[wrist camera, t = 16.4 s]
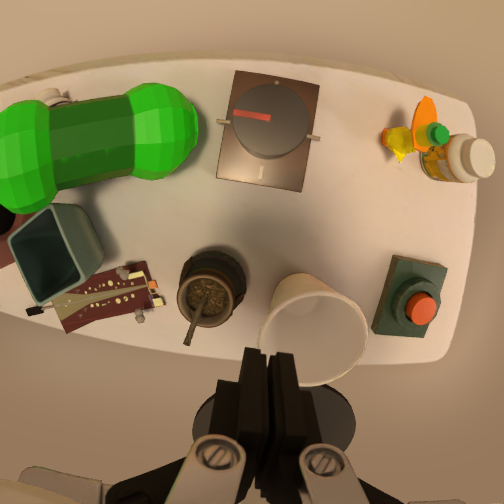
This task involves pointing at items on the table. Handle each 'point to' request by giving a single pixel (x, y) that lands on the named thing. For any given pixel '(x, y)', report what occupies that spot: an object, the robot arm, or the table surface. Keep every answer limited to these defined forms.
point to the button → (420, 308)
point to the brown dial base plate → (261, 170)
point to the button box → (407, 295)
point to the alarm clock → (9, 232)
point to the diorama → (106, 297)
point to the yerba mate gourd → (210, 290)
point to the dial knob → (270, 121)
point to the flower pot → (56, 251)
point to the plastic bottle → (91, 143)
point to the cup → (314, 329)
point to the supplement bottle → (459, 160)
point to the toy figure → (417, 132)
